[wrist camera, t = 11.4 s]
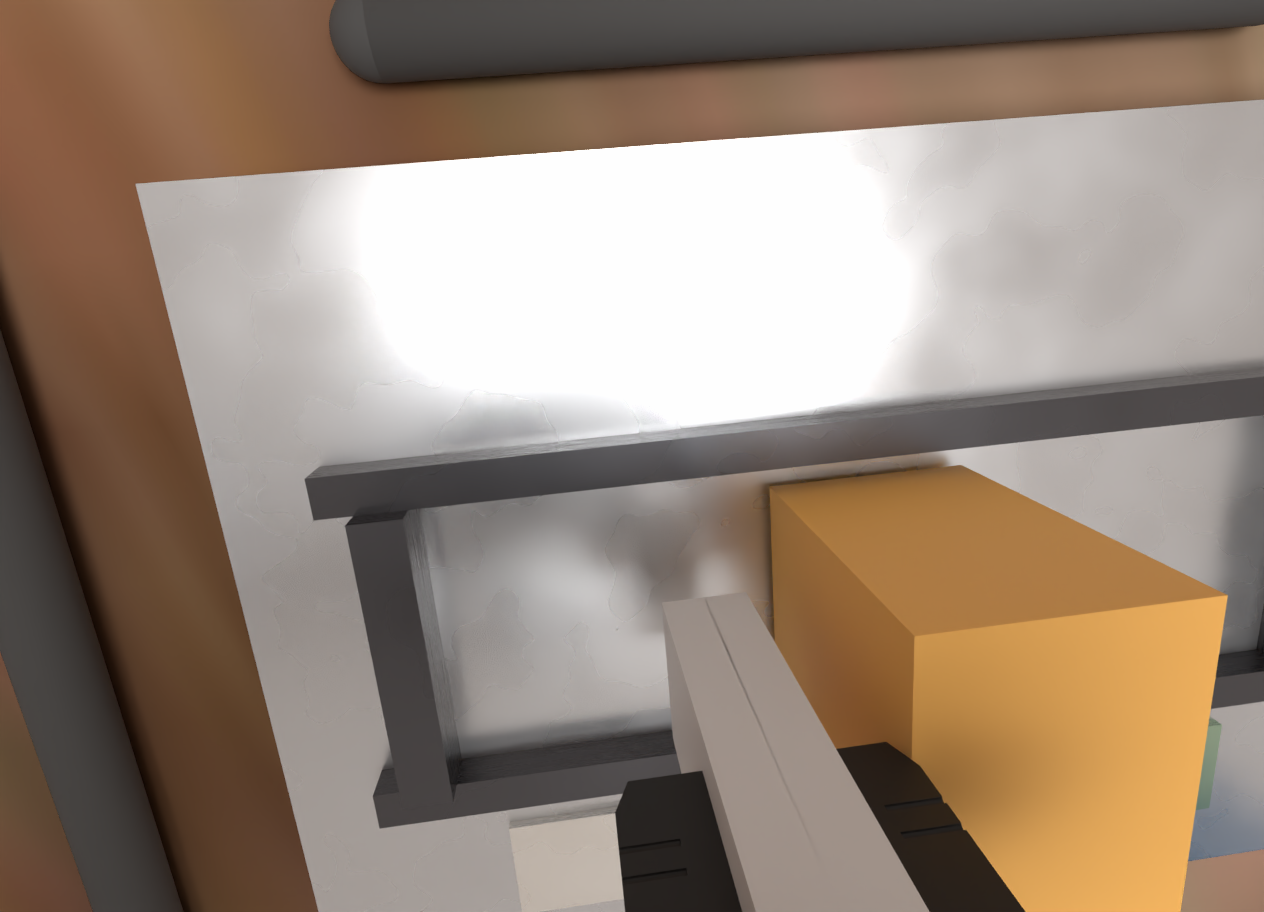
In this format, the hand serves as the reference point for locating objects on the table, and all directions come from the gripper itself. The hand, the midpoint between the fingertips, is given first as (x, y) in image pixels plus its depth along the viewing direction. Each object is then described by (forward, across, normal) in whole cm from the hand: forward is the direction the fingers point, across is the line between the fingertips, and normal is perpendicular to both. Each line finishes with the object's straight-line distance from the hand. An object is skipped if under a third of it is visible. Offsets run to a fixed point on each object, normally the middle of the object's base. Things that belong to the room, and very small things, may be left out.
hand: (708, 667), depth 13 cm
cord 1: (+5, +4, +11) cm, 13 cm away
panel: (+5, +4, 0) cm, 7 cm away
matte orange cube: (+2, +4, 0) cm, 4 cm away
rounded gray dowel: (+5, -14, 0) cm, 15 cm away
